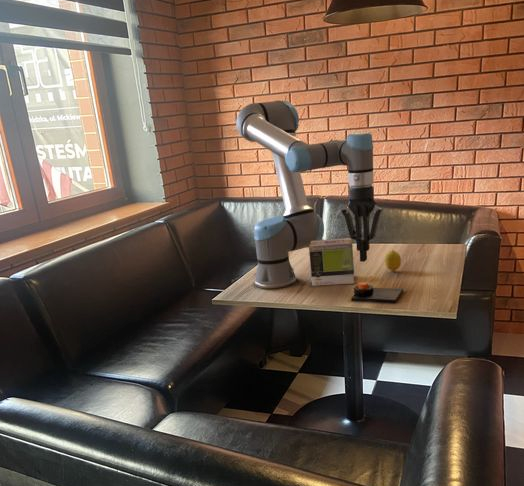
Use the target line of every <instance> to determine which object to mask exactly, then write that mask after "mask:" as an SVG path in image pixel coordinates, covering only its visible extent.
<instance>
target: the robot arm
mask: <svg viewBox="0 0 524 486" xmlns="http://www.w3.org/2000/svg"><path fill="white" fill-rule="evenodd" d="M235 122H236V123H235V126H236V129H237V131H238V133H239V135H240V136H241V138H243V139H245V140H246V141H248V142H250V143H257V144H258V145H260V146H262V147H264V148H265V149H267V150H268V151H270V152H271V155H272V159H273V165H274V169H275V172H276V176H277V181H278V185H279V189H280V193H281V197H282V201H283V205H284V213H283V215H282V216H275V217H274V216H273V217H270V218H266V219H263V220H261V221H258V222H257V223H256V224H255V226H254V232H253V233H254V234H253V235H254V236H253V238H254V242H255V251H256V259H257V261H256V262H257V267H256V272H255V277H254V285H255V287H257V288H259V289H268V290H270V289H271V290H273V289H281V288H286V287H290V286H291V285H293V284H295V283H296V282H297V278H296V277H297V276H296V273H295V270H294V268H293V267H292V264H291V262H290V254H289V253H290V252H295V251H299V250H302V249H309V245H310V243H311V241H315V240H323V237H324V233H325V224H324V221H323V218H322V217H321V216H320V214H318V213H315V211H314V208H313V207H312V206H310V205H309V203H308V199H307V195H306V190H305V186H304V181H303V178H302V173H305V172H308V171H314V170H318V169H319V170H320V169H326V168H332V167H339V166H346V167H347V175H348V176H347V178H348V186H349V188H348V200H349V201H348V204H347V206H346V207H344V208H342V209H341V214H342V215H343V217H344V219H345V223H346V227H347V231H348V235H349V238H351V239H352V240H355V242H356V251H357V252H359V262H363V263H365V262H366V261H367V260H368V251H370V247H371V245H370V241H371V240H373V239H374V238H375V237H376V235H377V230H378V225H379V222H380V221H379V220H380V216H381V214H382V213H383V212H384V208H383V207H379V206H378V205H376V201H375V188H374V183H375V182H374V142H373V135H372V133H371V132H367V131H365V132H354V133H349V134H348V135H347V136H346V140H345V139H343V140H340V139H339V140H338V139H332V140H328V141H324V142H318V143H310V144H309V143H306V142H305V141H303V140H301V139H299V138H298V137H296V136H297V134H296V132H297V131H298V130H299V127H300V124H299V123H300V117H299V113H298V110H297V109H296V107H295V105H294V104H293V103H291V102H290V101H288V100H274V101H264V102H263V101H262V102H252V103H249V104H247V105H245V106H244V107H242V109H241V110H239V112H238V114H237V117H236V121H235ZM372 212H373V213H374V215H373V217H372V218H373V219H372V222H371V226H370V217H371V216H370V215H371V213H372ZM351 213H352V214H353V216H354V221H353V218H352V215H351ZM354 222H355V223H354ZM362 224H363V227H362ZM370 227H371V228H370ZM362 229H363V230H362ZM362 232H363V233H362Z"/></svg>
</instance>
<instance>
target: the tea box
mask: <svg viewBox="0 0 524 486" xmlns="http://www.w3.org/2000/svg"><path fill="white" fill-rule="evenodd" d="M308 254H309V264H310V265H309V267H310V276H311V277H310V278H311V285H312V286H313V287H314V286H316V287H317V286H332V285H349V284H350V285H351V284H352V285H353V284H354V283H355V264H354V261H355V260H354V247H353V239H351V238H350V237H341V238H328V239H321V240H315V241H311V243H310V245H309V247H308Z"/></svg>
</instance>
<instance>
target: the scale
mask: <svg viewBox="0 0 524 486" xmlns="http://www.w3.org/2000/svg"><path fill="white" fill-rule="evenodd" d="M403 293H404V288H390V287H374V286H373V285H371V284H368V289H359V288H358V284H357V285H355V286H354V287H353V295H352V296H351V302H363V303H365V302H366V303H381V304H383V303H384V304H396V303H397V301H398V300H399V299H400V297H401V296H402V294H403Z"/></svg>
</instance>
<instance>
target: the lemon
mask: <svg viewBox="0 0 524 486" xmlns="http://www.w3.org/2000/svg"><path fill="white" fill-rule="evenodd" d="M384 262H385V266H386V268H387V269H388V270H390V271H391V272H395V271H396V270H398V269H399V268H400V267H401V264H402V259H401V255H400V253H398V252H397V251H395V250H393V249H392V250H391V251H389V252H388V253H387V254H386V255H385V259H384Z"/></svg>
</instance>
